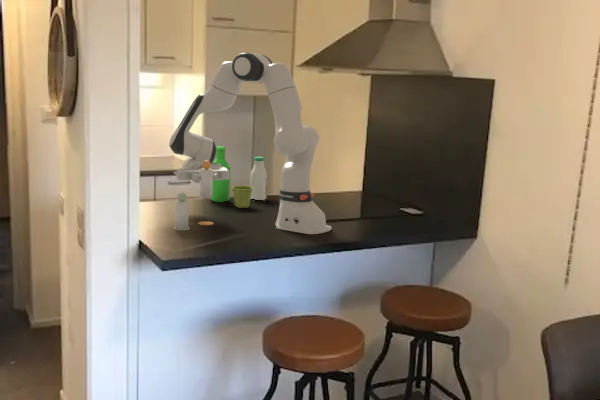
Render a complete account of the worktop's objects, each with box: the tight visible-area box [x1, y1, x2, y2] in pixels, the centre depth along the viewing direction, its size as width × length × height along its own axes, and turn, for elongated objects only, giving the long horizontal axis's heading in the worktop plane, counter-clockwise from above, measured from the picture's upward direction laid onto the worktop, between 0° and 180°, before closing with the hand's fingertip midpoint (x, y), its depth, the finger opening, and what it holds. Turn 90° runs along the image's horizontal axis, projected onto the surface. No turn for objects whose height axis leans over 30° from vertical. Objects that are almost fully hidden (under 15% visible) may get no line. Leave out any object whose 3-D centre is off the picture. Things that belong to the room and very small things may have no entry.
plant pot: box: [231, 185, 253, 209], centre depth 283 cm, size 9×9×9 cm
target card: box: [173, 221, 214, 231], centre depth 241 cm, size 10×20×1 cm, turn 141°
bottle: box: [209, 145, 231, 203], centre depth 292 cm, size 9×9×25 cm
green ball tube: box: [174, 191, 190, 231], centre depth 235 cm, size 5×5×13 cm
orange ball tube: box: [199, 160, 213, 198], centre depth 242 cm, size 5×5×13 cm
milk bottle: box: [249, 156, 268, 201], centre depth 299 cm, size 8×8×20 cm
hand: (206, 177), depth 242 cm, fingers closed on orange ball tube, 5 cm apart
